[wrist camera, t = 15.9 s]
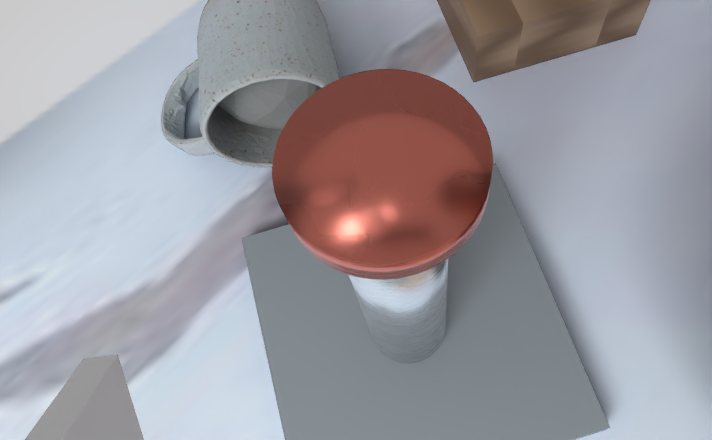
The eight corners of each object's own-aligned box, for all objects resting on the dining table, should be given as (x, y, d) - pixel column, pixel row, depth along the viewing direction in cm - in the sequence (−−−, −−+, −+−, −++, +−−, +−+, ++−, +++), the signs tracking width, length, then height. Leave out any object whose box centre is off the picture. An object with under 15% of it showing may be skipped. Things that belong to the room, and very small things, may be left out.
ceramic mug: (331, 41, 40) (308, -58, 33) (356, 151, 37) (337, 65, 30) (166, 81, 40) (109, -9, 33) (176, 194, 37) (114, 119, 30)
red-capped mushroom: (368, 400, 30) (300, 292, 15) (337, 289, 32) (252, 104, 18) (483, 364, 30) (527, 222, 15) (444, 257, 32) (449, 44, 18)
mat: (306, 521, 29) (302, 521, 28) (246, 245, 35) (241, 238, 34) (604, 430, 29) (609, 427, 28) (493, 172, 35) (495, 163, 34)
